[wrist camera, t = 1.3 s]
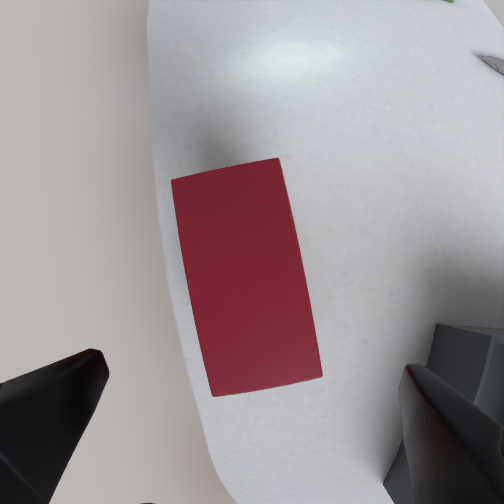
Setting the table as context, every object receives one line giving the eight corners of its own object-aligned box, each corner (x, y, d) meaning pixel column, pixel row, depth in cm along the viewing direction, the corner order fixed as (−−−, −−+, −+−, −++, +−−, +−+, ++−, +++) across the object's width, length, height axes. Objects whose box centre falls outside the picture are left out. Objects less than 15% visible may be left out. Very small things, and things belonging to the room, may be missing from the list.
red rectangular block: (309, 355, 16) (323, 377, 12) (222, 372, 16) (212, 397, 12) (274, 183, 17) (279, 156, 13) (189, 200, 17) (170, 179, 13)
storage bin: (382, 485, 24) (410, 529, 15) (436, 323, 25) (491, 335, 16) (493, 462, 23) (526, 487, 14) (537, 331, 24) (582, 338, 16)
